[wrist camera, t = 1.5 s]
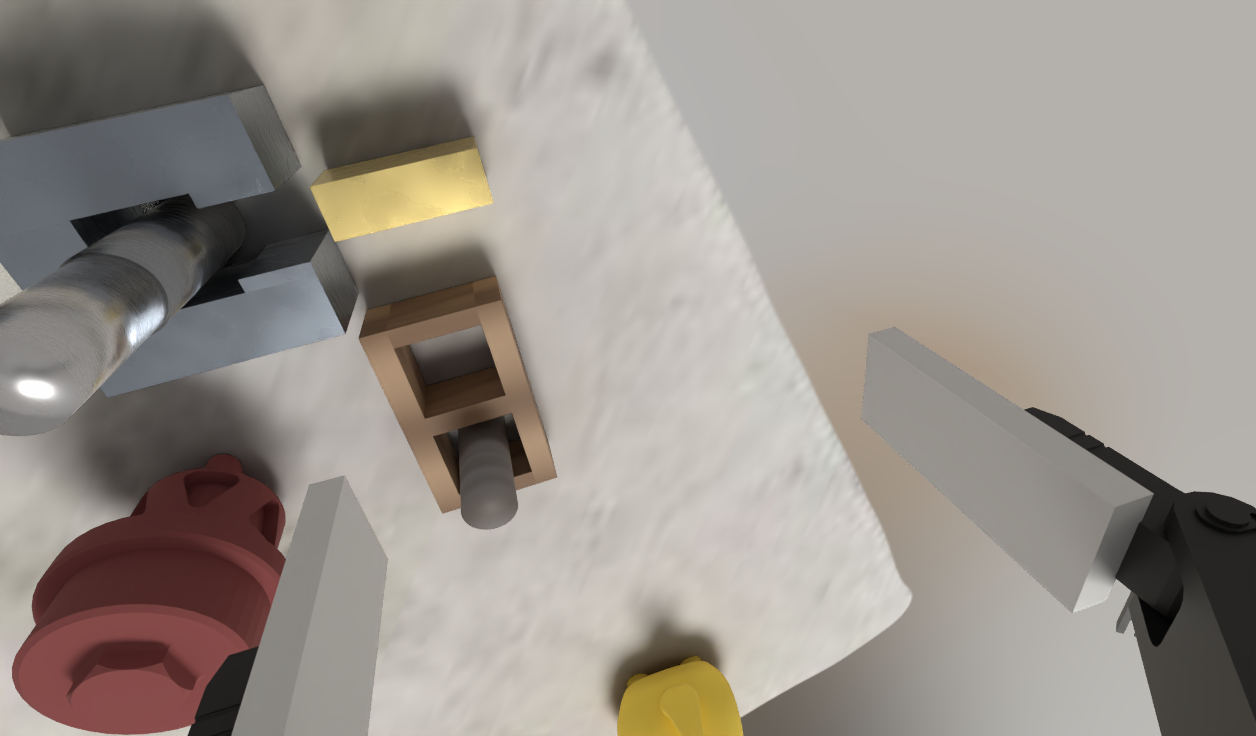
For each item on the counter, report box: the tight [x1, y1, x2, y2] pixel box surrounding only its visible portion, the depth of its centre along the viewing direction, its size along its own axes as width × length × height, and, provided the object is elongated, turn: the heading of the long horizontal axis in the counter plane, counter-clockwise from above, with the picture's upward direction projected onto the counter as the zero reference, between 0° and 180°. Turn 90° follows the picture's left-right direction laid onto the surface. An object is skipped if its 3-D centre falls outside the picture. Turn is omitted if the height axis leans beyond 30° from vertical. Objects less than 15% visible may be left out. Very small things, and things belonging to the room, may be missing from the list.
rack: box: [359, 276, 557, 529], centre depth 31 cm, size 12×7×8 cm, turn 10°
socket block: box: [0, 85, 359, 398], centre depth 25 cm, size 10×10×5 cm
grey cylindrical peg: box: [0, 193, 246, 436], centre depth 21 cm, size 3×3×15 cm
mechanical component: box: [12, 454, 286, 735], centre depth 29 cm, size 12×10×10 cm
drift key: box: [310, 136, 493, 242], centre depth 27 cm, size 2×7×4 cm, turn 100°
